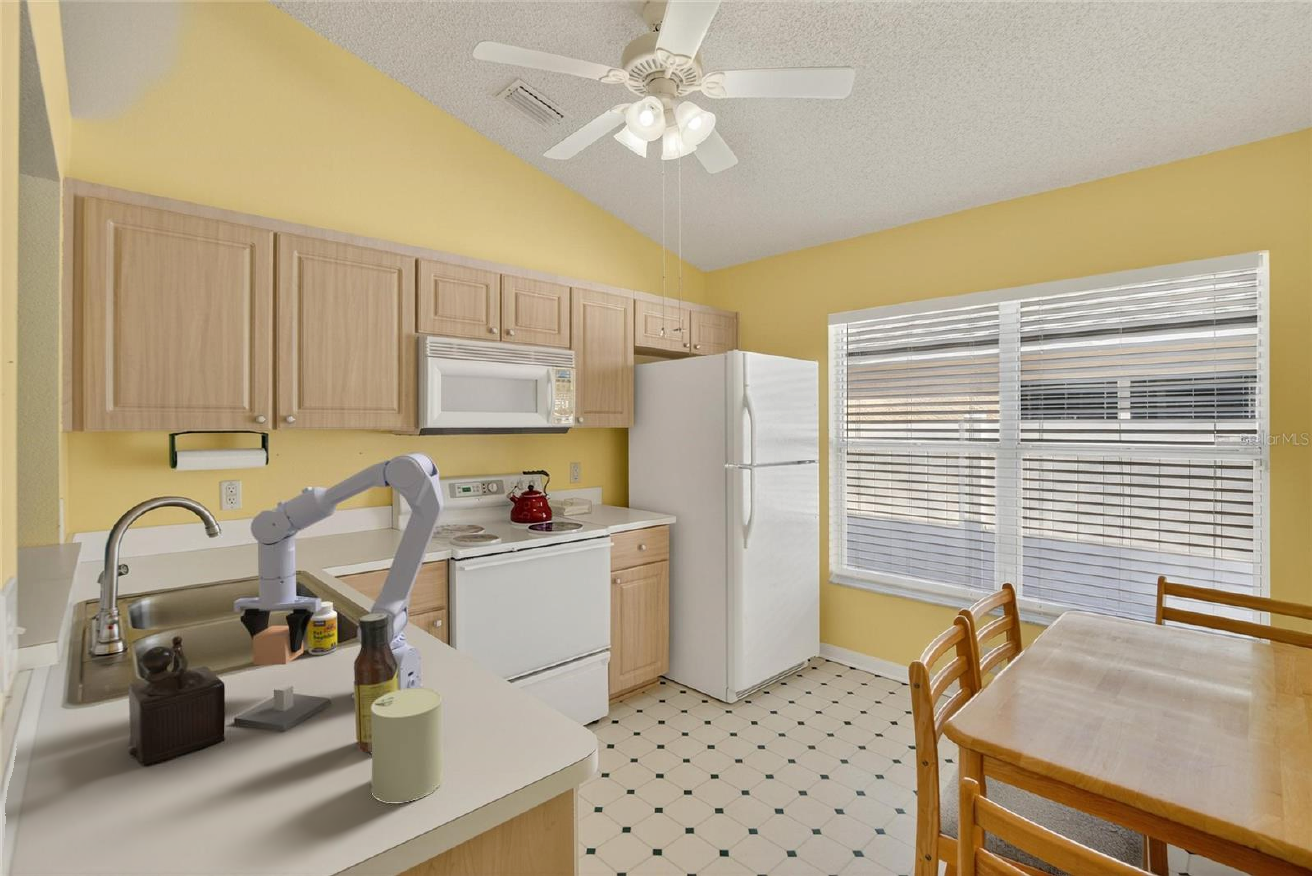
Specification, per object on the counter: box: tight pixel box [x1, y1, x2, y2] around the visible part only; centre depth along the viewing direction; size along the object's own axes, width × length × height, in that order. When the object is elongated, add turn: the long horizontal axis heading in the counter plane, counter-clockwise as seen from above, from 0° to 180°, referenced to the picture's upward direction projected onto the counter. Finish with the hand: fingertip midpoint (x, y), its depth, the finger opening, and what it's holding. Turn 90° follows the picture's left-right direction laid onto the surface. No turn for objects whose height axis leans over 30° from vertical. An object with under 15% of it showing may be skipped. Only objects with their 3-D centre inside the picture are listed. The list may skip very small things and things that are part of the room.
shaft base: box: [233, 684, 332, 732], centre depth 108 cm, size 10×10×4 cm
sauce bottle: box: [353, 613, 399, 753], centre depth 98 cm, size 6×6×20 cm
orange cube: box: [252, 625, 304, 666], centre depth 114 cm, size 6×6×5 cm
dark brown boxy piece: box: [128, 636, 226, 767], centre depth 96 cm, size 16×11×18 cm
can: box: [370, 687, 444, 802], centre depth 88 cm, size 9×9×12 cm
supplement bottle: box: [307, 601, 338, 656], centre depth 136 cm, size 6×6×10 cm
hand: (279, 650), depth 114 cm, fingers closed on orange cube, 6 cm apart
